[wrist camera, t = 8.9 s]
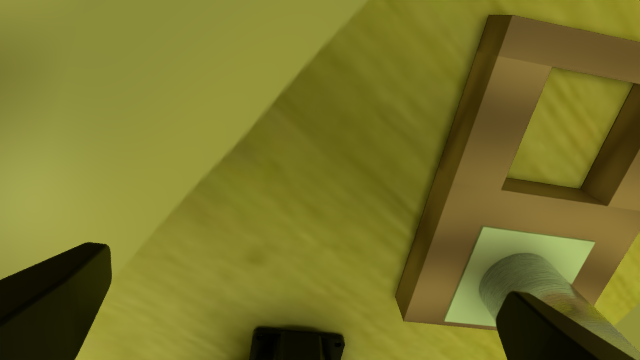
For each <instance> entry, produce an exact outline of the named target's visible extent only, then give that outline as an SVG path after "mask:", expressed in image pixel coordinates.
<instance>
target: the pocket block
mask: <svg viewBox="0 0 640 360" xmlns="http://www.w3.org/2000/svg"><path fill="white" fill-rule="evenodd" d="M552 67H556V68H561V69H566V70H571V71H576V72H581V73H587V74H592V75H597V76H602V77H607V78H612V79H617V80H622V81H627V82H632V83H635V84H634V86H633V88H632V90H631V92H630V94H629V96H628V98H627V100H626V101H625V103H624V105H623V107H622V109H621V111H620V113H619V115H618V117H617V119H616V121H615V123H614V125H613V127H612V129H611V131H610V133H609V135H608V137H607V139H606V141H605V142H604V144H603V146H602V148H601V150H600V152H599V154H598V156H597V158H596V160H595V162H594V164H593V166H592V168H591V170H590V172H589V174H588V176H587V178H586V180H585V181H584V183H583V185H582V187H581V189H576V188H569V187H563V186H557V185H550V184H544V183H537V182H531V181H524V180H518V179H511V178H506V176H507V174H508V172H509V169H510V167H511V164H512V162H513V160H514V157H515V155H516V152H517V150H518V148H519V145H520V143H521V140H522V138H523V136H524V133H525V131H526V128H527V126H528V124H529V121H530V119H531V116H532V114H533V112H534V109H535V107H536V104H537V102H538V100H539V97H540V95H541V92H542V90H543V88H544V85H545V83H546V80H547V78H548V76H549V73H550V71H551V68H552ZM639 231H640V42H637V41H632V40H627V39H623V38H618V37H613V36H609V35H604V34H599V33H595V32H590V31H585V30H580V29H576V28H571V27H566V26H562V25H557V24H552V23H548V22H543V21H538V20H533V19H529V18H524V17H519V16H515V15H489V17H488V20H487V23H486V26H485V29H484V32H483V35H482V38H481V41H480V44H479V47H478V50H477V53H476V56H475V59H474V62H473V65H472V68H471V71H470V74H469V77H468V80H467V83H466V86H465V89H464V92H463V95H462V98H461V101H460V104H459V107H458V110H457V113H456V116H455V119H454V122H453V125H452V128H451V131H450V134H449V137H448V140H447V143H446V146H445V149H444V152H443V155H442V158H441V161H440V164H439V167H438V170H437V173H436V176H435V179H434V182H433V185H432V188H431V191H430V194H429V197H428V200H427V203H426V206H425V209H424V212H423V215H422V218H421V221H420V224H419V227H418V230H417V233H416V236H415V239H414V242H413V245H412V248H411V251H410V254H409V257H408V260H407V263H406V266H405V269H404V272H403V275H402V278H401V281H400V284H399V287H398V290H397V293H396V296H395V298H396V301H397V303H398V306H399V309H400V312H401V315H402V318H403V321H407V322H417V323H427V324H437V325H447V326H457V327H468V328H478V329H488V330H497V328H496V322H495V321H494V319H493V318H492V316H491V314H490V313H489V311H488V310H487V308H486V307H485V305H484V303H483V302H482V300H481V298H480V295H479V286H480V282H481V279H482V277H483V275H484V274H485V273H486V271H487V270H488V269H489V268H490V267H491V266H492V265H493V264H495V263H496V262H497V261H499V260H501V259H503V258H505V257H507V256H510V255H513V254H518V253H532V254H536V255H539V256H541V257H543V258H545V259H546V260H547V261H548V262H549V263H550V264H551V265H552V266H553V267H554V268H555V269H556V270H557V271H558V272H559V273H560V274H561V275H562V276H563V277H564V278H565V279H566V280H567V281H568V282H569V283H570V284H571V285H572V286H573V287H574V288H575V289H576V290H577V291H578V292H579V293H580V294H581V295H582V296H583V297H584V298H585V299H586V300H588V301H589V302H590V303H591V304H592V305H593V306H594V304H595V303H596V301H597V299H598V298H599V296H600V295H601V293H602V291H603V290H604V288H605V286H606V285H607V283H608V282H609V280H610V278H611V277H612V275H613V273H614V272H615V270H616V269H617V267H618V265H619V264H620V262H621V260H622V259H623V257H624V256H625V254H626V252H627V251H628V249H629V247H630V246H631V244H632V242H633V241H634V239H635V238H636V236H637V234H638V233H639Z"/></svg>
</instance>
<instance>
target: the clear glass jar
mask: <svg viewBox="0 0 640 360" xmlns="http://www.w3.org/2000/svg"><path fill="white" fill-rule="evenodd" d="M510 291H522V292H528V293H530V294H532V295H534V296H535V297H537V298H538V299H540V300H542V301H543V302H545V303H546V304H548V305H550V306H551V307H553V308H554V309H556V310H558V311H559V312H561V313H562V314H564V315H566V316H567V317H569V318H570V319H572V320H574V321H575V322H577V323H578V324H580V325H581V326H583V327H585V328H586V329H588V330H589V331H591V332H593V333H594V334H596V335H597V336H599V337H601V338H602V339H604V340H605V341H607V342H609V343H610V344H612V345H613V346H615V347H617V348H618V349H620V350H621V351H623V352H625V353H626V354H628V355H629V356H631V357H633V358H634V359H636V360H640V352H639V351H638V350H637V349H636V348H635V347H633V345H632V344H631V343H630V342H629V341H628V340H627V339H626V338H625V337H624V336H623V335H622V334H621V333H620V332H619V331H618V330H617V329H616V328H615V327H614V326H613V325H612V324H611V323H610V322H609V321H608V320H607V319H606V318H605V317H604V316H603V315H602V314H601V313H600V312H599V311H598V310H597V309H596V308H595V307H594V306H593V305H592V304H591V303H590V302H589V301H588V300H586V299H585V298H584V297H583V296H582V295H581V294H580V293H579V292H578V291H577V290H576V289H575V288H574V287H573V286H572V285H571V284H570V283H569V282H568V281H567V280H566V279H565V278H564V277H563V276H562V275H561V274H560V273H559V272H558V271H557V270H556V269H555V268H554V267H553V266H552V265H551V264H550V263H549V262H548V261H547V260H546V259H545V258H543V257H541V256H539V255H536V254H532V253H518V254H513V255H510V256H507V257H505V258H503V259H501V260H499V261H497V262H496V263H495V264H493V265H492V266H491V267H490V268H489V269H488V270H487V271H486V273H485V274H484V275H483V277H482V279H481V282H480V286H479V295H480V298H481V300H482V302H483V303H484V305H485V307H486V308H487V310H488V311H489V313H490V314H491V316H492V318H493V319H494V321H495V322H496V316H497V314H498V312H499V310H500V307H501V305H502V303H503V301H504V299H505V297H506V295H507V294H508V293H509V292H510Z"/></svg>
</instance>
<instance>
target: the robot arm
mask: <svg viewBox="0 0 640 360" xmlns="http://www.w3.org/2000/svg"><path fill="white" fill-rule="evenodd" d="M111 279H112V270H111V252H110V248H109V246H108V245H106V244H100V243H92V242H87V243H84V244H81V245H79V246H77V247H74V248H72V249H70V250H68V251H65V252H63V253H61V254H58V255H56V256H54V257H52V258H49V259H47V260H45V261H42V262H40V263H38V264H35V265H34V266H31V267H29V268H26V269H24V270H22V271H19V272H17V273H15V274H13V275H10V276H8V277H6V278H3V279H1V280H0V360H75V358H76V357H77V355H78V353H79V351H80V349H81V347H82V345H83V343H84V340H85V338H86V336H87V334H88V332H89V330H90V328H91V326H92V323H93V321H94V319H95V317H96V315H97V313H98V311H99V309H100V306H101V304H102V302H103V300H104V298H105V296H106V294H107V292H108V289H109V287H110V284H111ZM496 328H497V331H498V334H499V337H500V339H501V342H502V345H503V348H504V351H505V354H506V357H507V360H636V359H634V358H633V357H631V356H629V355H628V354H626V353H625V352H623V351H621V350H620V349H618V348H617V347H615V346H613V345H612V344H610V343H609V342H607V341H605V340H604V339H602V338H601V337H599V336H597V335H596V334H594V333H593V332H591V331H589V330H588V329H586V328H585V327H583V326H581V325H580V324H578V323H577V322H575V321H574V320H572V319H570V318H569V317H567V316H566V315H564V314H562V313H561V312H559V311H558V310H556V309H554V308H553V307H551V306H550V305H548V304H546V303H545V302H543V301H542V300H540V299H538V298H537V297H535V296H534V295H532V294H530V293H528V292H522V291H510V292H509V293H508V294H507V295H506V297H505V299H504V301H503V303H502V305H501V307H500V310H499V312H498V314H497V316H496ZM259 335H262V336H259ZM336 342H339V343H336ZM344 346H345V342H344V338H343V337H342V336H341V335H333V334H322V333H312V332H301V331H290V330H279V329H269V328H257V329H255V330H254V332H253V338H252V345H251V352H250V359H249V360H341V356H342V353H343V349H344Z"/></svg>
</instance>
